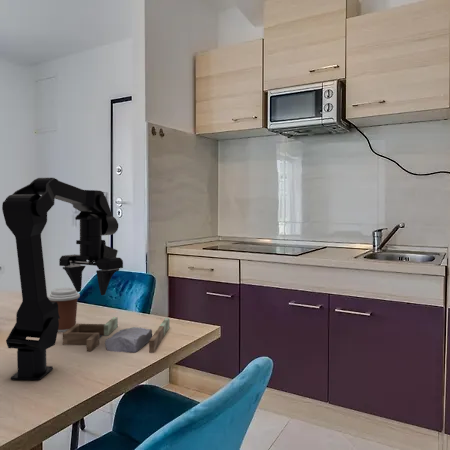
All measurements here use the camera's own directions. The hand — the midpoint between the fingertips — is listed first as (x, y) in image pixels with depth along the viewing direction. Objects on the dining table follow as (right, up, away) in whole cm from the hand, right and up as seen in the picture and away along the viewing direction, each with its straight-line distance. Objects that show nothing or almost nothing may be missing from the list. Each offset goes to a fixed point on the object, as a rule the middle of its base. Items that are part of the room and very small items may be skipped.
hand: (90, 293), depth 112 cm
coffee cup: (-12, -13, +12) cm, 22 cm away
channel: (+6, -13, +3) cm, 15 cm away
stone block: (+11, -14, -2) cm, 18 cm away
